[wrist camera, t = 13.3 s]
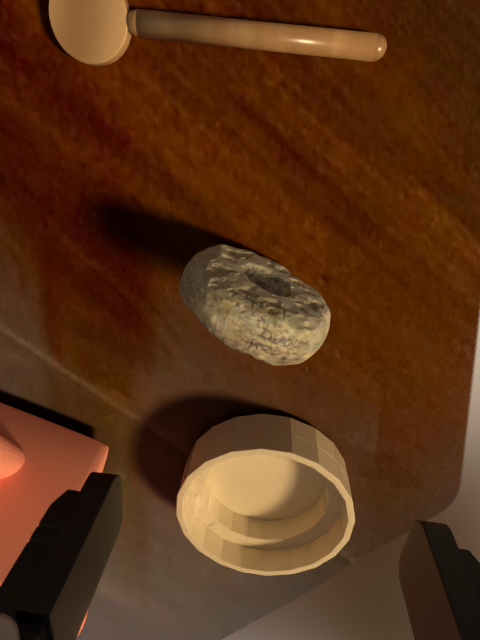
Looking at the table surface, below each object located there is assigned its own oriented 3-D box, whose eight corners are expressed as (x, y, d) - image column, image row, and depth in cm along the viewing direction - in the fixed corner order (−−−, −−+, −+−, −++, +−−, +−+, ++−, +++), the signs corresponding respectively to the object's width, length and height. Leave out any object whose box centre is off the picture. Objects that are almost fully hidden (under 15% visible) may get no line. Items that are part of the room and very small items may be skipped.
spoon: (393, 1, 24) (400, -6, 23) (373, 95, 26) (378, 94, 25) (52, -33, 25) (40, -41, 23) (59, 62, 27) (48, 59, 25)
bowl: (361, 422, 37) (373, 464, 32) (328, 537, 43) (334, 586, 39) (191, 399, 37) (179, 437, 33) (184, 516, 44) (173, 562, 39)
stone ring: (330, 287, 31) (350, 353, 22) (305, 323, 33) (315, 398, 24) (211, 222, 30) (182, 263, 21) (190, 262, 32) (155, 318, 23)
